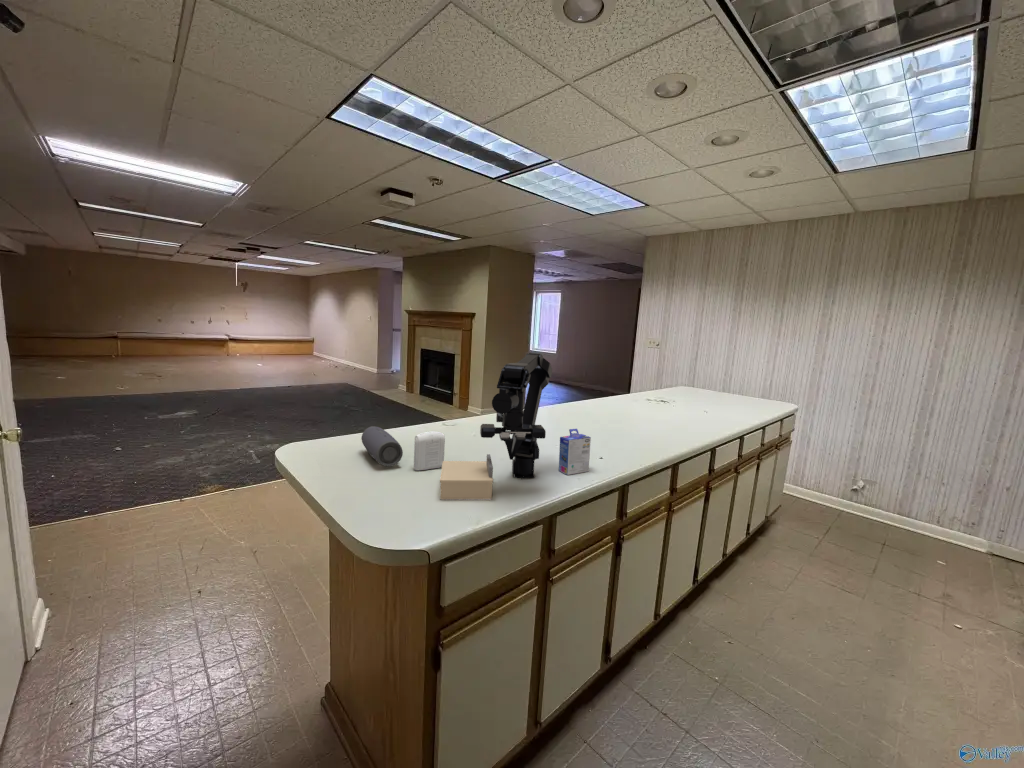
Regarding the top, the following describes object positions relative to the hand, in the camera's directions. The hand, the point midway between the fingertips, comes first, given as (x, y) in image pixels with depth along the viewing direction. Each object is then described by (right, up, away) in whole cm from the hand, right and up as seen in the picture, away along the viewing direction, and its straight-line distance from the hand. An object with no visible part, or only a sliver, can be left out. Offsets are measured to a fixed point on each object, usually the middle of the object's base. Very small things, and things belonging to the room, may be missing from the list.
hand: (511, 459), depth 122 cm
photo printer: (-28, -6, +16) cm, 32 cm away
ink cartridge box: (+21, -8, +20) cm, 30 cm away
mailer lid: (-13, -4, -1) cm, 14 cm away
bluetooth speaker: (-45, -4, +21) cm, 50 cm away
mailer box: (-13, -9, -1) cm, 16 cm away
